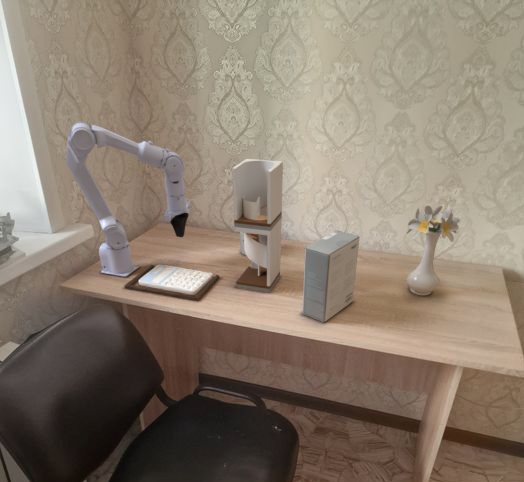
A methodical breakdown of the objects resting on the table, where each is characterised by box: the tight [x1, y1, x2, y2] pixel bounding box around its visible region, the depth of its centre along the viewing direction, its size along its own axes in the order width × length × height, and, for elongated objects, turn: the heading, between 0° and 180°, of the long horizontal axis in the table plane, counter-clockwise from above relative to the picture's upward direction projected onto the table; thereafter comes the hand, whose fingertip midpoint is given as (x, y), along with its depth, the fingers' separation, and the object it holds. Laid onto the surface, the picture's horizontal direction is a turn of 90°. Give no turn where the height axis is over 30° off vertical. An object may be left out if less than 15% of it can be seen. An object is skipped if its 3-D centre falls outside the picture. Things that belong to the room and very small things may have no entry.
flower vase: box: [406, 205, 461, 297], centre depth 133 cm, size 13×18×25 cm
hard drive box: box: [302, 229, 360, 323], centre depth 126 cm, size 16×8×20 cm, turn 141°
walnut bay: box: [123, 264, 221, 302], centre depth 144 cm, size 25×16×1 cm, turn 71°
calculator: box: [138, 264, 214, 296], centre depth 144 cm, size 13×20×2 cm, turn 70°
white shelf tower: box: [231, 158, 284, 293], centre depth 135 cm, size 11×11×35 cm
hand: (180, 236), depth 151 cm, fingers closed
